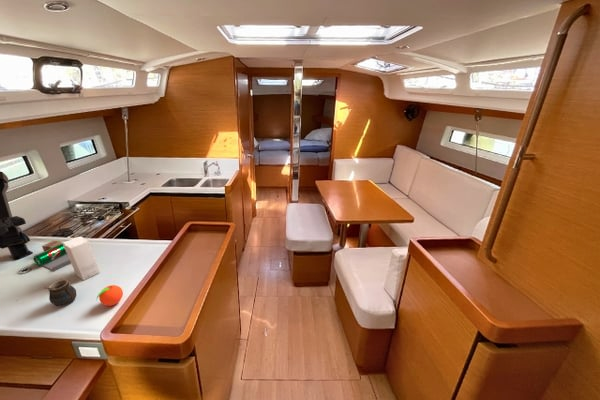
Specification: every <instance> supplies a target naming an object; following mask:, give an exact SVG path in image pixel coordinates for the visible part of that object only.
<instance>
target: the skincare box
mask: <svg viewBox="0 0 600 400" xmlns="http://www.w3.org/2000/svg"><path fill="white" fill-rule="evenodd" d="M62 244H63V246H64V248H65V250H66V253H67V255H68V257H69V259H70V262H71V264H70V265H71V266H72V268H73V271H74V273H75V275H76V276H77V277H78V278H80V279H81V280H82V281H86V280H88V279H89V278H92V277H94V276H97V275H99V274H100V273H101V270H100V267H99V266H98V263H97V261H96V258H95V255H94V253H93V249H92V248H91V246H90V242H89V240H87V239H85V238H84V237H82V236H81V235H80V236H78V237H75V238H72V239H70V240H66V241H64V242H62Z"/></svg>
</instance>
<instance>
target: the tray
mask: <svg viewBox="0 0 600 400" xmlns="http://www.w3.org/2000/svg"><path fill="white" fill-rule="evenodd" d="M69 265H72V264H71V262H70V259H69V257H68V255H67V253H66V254H64V255H62V256H60V257H58V258H56V259H54V260H52V261H50V262H48V263H46V264H44V265H42V266H43V267H45V268H47V269H49V270H51V271H53V272H56V271H57V270H60V269H63V268H64V267H67V266H69Z"/></svg>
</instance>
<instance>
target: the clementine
mask: <svg viewBox="0 0 600 400" xmlns="http://www.w3.org/2000/svg"><path fill="white" fill-rule="evenodd" d="M123 296H124V290H123V289H122V287H120V286H119V285H116V284H112V285H110V284H109V285H108V286H106V287H104V288H103V289H102V290H100V292H99V293H98V295H97V296H96V301H98V298H99V302H100V303H101V304H102V305H104V306H106V307H107V306H114V305H117V304H118V303H120V301H121V299H122V298H123Z"/></svg>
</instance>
